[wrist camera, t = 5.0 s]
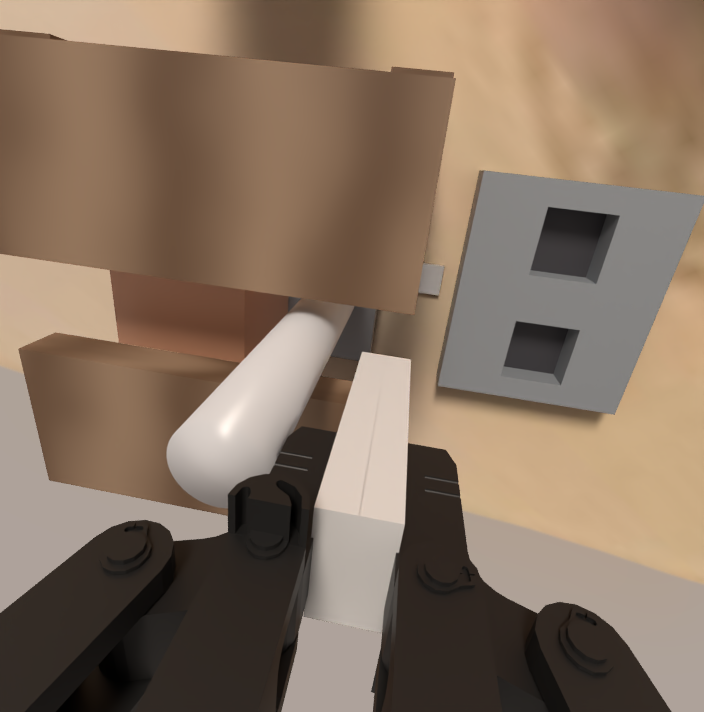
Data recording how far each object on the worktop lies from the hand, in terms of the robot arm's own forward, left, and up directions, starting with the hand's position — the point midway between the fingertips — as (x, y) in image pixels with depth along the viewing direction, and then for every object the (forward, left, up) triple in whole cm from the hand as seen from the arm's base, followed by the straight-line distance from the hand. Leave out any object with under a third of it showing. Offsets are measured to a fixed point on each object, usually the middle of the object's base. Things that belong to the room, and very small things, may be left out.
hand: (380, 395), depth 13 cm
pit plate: (-10, 0, -18) cm, 20 cm away
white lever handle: (+9, 0, -18) cm, 20 cm away
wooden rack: (+15, 0, -18) cm, 23 cm away
